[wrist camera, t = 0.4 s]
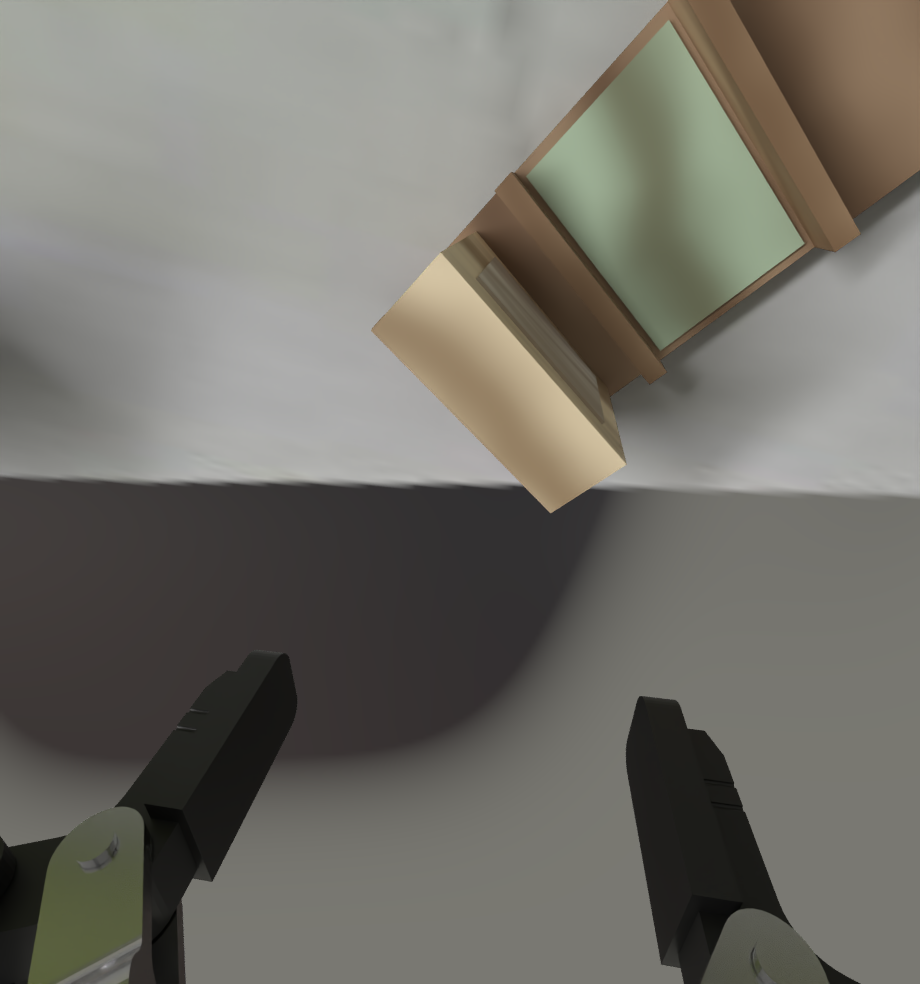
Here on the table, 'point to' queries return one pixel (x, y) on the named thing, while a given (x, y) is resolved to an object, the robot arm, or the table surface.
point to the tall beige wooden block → (505, 372)
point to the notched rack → (708, 168)
